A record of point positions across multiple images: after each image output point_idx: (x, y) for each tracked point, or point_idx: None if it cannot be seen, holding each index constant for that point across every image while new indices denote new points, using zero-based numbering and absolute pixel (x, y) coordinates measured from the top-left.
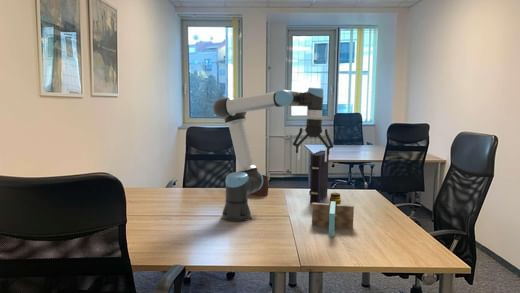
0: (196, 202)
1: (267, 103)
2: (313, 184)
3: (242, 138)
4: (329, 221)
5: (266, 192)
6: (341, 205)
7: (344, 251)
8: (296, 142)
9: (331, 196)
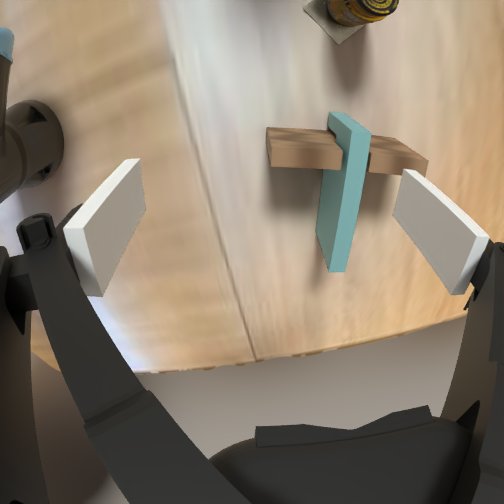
0: None
1: None
2: None
3: None
4: (324, 256)
5: None
6: (386, 168)
7: (338, 302)
8: (5, 284)
9: (356, 4)
